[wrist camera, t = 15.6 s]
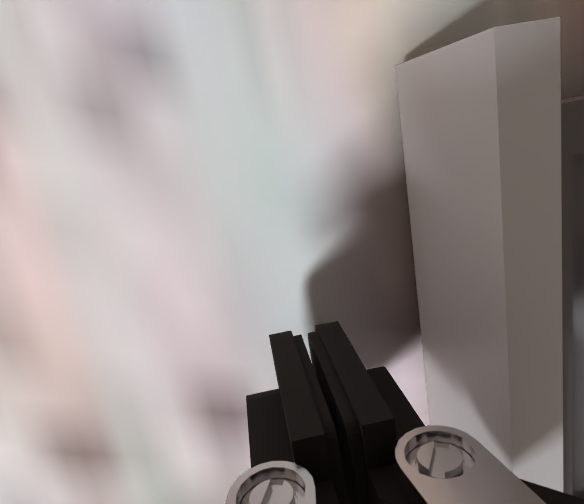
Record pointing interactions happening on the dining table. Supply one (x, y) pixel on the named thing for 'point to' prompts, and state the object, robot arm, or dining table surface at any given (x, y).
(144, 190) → the dining table surface
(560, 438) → the tray
